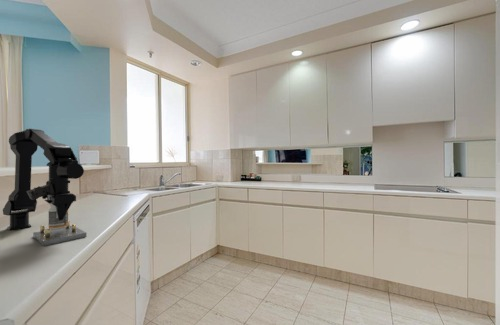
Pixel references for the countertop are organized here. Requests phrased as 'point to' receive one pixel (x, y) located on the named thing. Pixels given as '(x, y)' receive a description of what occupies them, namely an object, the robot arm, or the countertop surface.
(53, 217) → the pill bottle
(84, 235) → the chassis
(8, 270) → the countertop surface
